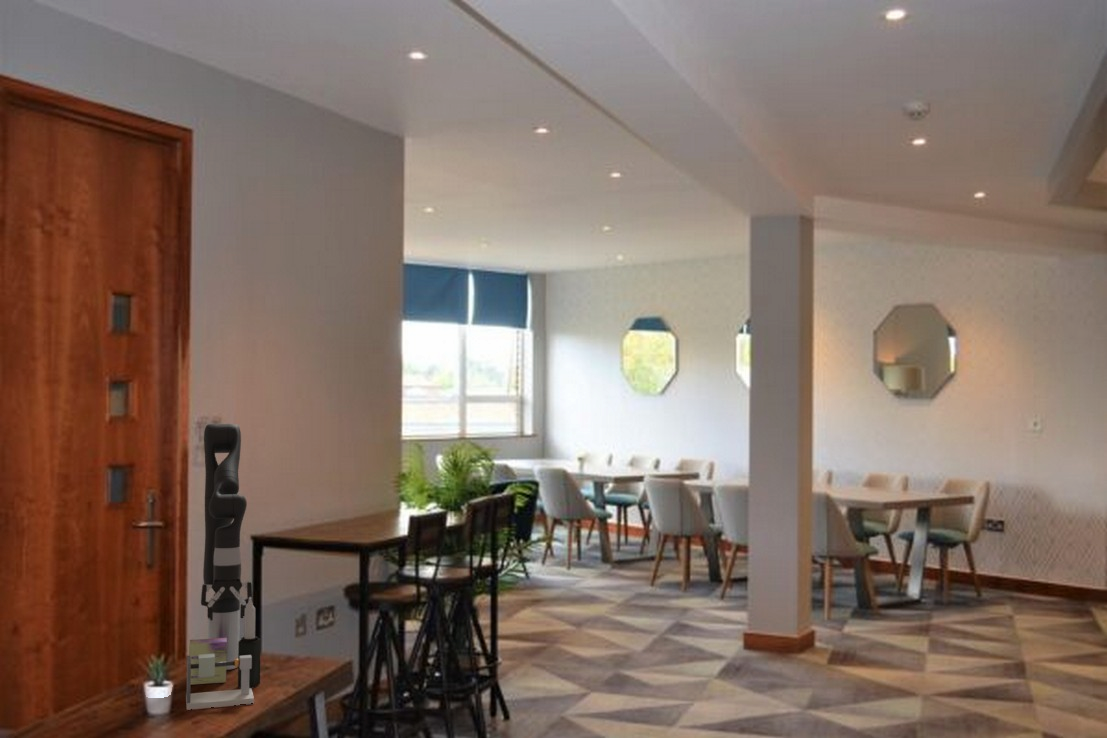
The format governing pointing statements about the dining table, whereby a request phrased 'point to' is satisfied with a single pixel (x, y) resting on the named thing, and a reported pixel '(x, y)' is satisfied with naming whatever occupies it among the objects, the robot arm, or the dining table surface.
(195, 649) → the box
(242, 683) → the cord rack
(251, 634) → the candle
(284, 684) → the dining table surface
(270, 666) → the dining table surface
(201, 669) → the sleeve
